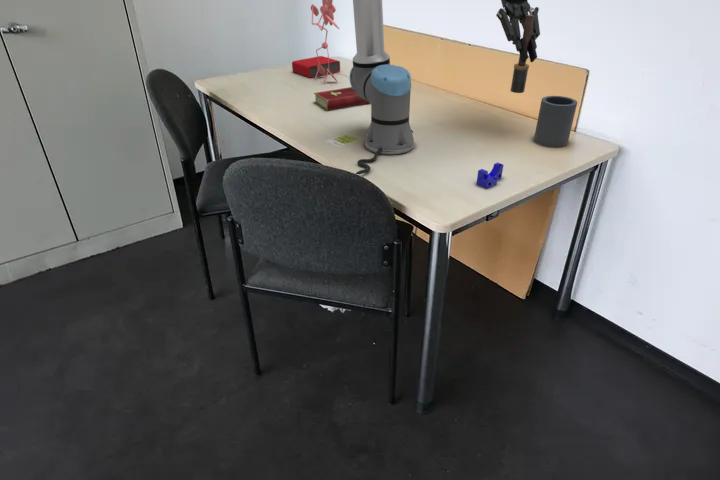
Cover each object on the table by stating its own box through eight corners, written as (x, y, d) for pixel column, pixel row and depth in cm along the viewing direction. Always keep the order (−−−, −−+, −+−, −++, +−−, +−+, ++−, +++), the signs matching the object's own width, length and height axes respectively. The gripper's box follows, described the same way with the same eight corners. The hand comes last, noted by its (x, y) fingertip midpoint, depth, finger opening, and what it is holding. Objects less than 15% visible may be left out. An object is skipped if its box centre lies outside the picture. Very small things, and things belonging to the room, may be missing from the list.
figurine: (330, 88, 207) (326, -2, 188) (306, 75, 226) (300, -9, 207) (361, 83, 213) (360, -5, 194) (335, 70, 232) (332, -11, 213)
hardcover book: (375, 102, 189) (375, 92, 187) (327, 111, 181) (326, 100, 179) (361, 95, 198) (361, 84, 196) (314, 102, 190) (313, 92, 188)
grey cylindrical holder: (568, 148, 148) (578, 107, 141) (533, 145, 151) (541, 104, 144) (566, 137, 156) (576, 97, 149) (534, 134, 159) (541, 94, 152)
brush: (524, 93, 150) (537, 16, 138) (509, 92, 151) (522, 16, 139) (524, 89, 154) (538, 14, 142) (510, 88, 155) (522, 14, 143)
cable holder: (486, 188, 126) (488, 174, 124) (476, 184, 129) (478, 170, 127) (505, 180, 131) (508, 166, 128) (495, 175, 133) (497, 162, 131)
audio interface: (322, 66, 240) (322, 55, 237) (340, 71, 230) (339, 60, 228) (292, 72, 230) (291, 61, 228) (309, 78, 221) (308, 66, 218)
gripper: (528, -1, 153) (546, 65, 149) (484, 0, 150) (500, 68, 146) (541, -19, 146) (559, 50, 141) (494, -17, 143) (511, 53, 139)
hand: (529, 59), depth 144 cm, fingers closed on brush, 2 cm apart
